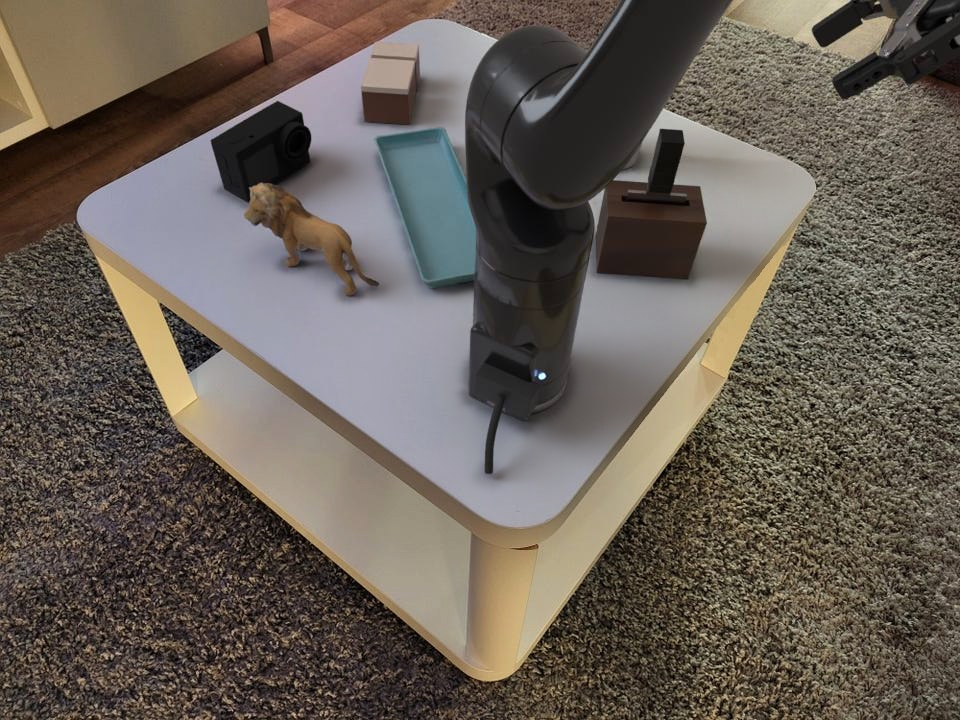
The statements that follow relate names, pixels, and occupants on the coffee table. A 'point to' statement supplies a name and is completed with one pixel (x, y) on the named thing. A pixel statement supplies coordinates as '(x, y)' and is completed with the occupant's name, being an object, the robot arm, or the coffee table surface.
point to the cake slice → (398, 54)
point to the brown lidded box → (389, 91)
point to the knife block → (648, 233)
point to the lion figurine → (303, 231)
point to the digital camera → (262, 149)
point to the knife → (662, 171)
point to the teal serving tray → (431, 203)
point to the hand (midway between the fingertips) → (825, 63)
